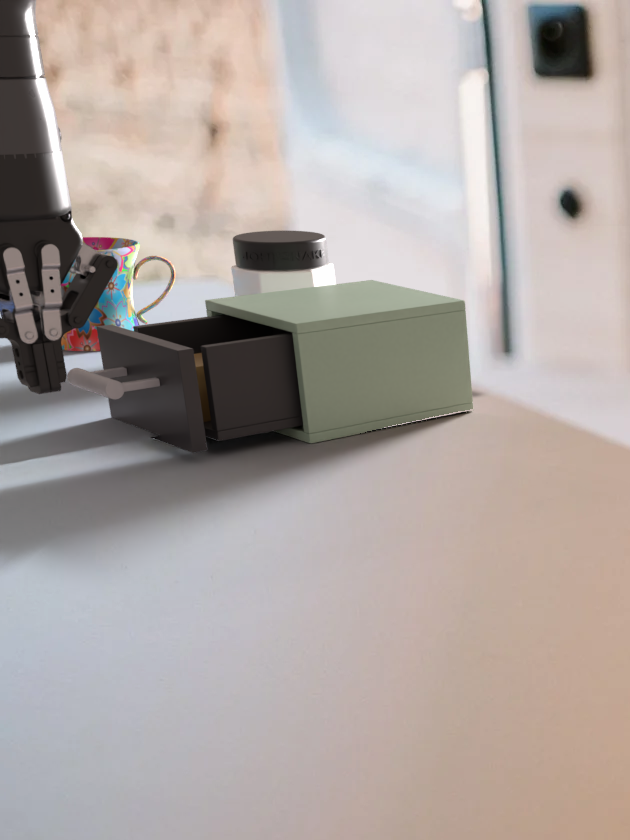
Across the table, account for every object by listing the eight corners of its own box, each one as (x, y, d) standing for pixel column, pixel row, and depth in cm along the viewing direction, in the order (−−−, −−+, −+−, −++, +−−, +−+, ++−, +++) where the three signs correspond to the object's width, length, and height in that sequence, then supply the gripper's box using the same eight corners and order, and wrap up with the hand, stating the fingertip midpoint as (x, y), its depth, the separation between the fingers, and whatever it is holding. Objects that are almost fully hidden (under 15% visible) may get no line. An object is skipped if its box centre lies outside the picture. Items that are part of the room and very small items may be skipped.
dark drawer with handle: (137, 463, 119) (120, 358, 116) (57, 433, 126) (40, 333, 123) (363, 420, 132) (353, 325, 130) (280, 394, 139) (268, 304, 136)
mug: (47, 369, 149) (26, 252, 145) (47, 350, 156) (28, 238, 152) (189, 361, 154) (173, 248, 150) (183, 342, 161) (168, 234, 158)
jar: (246, 375, 149) (228, 243, 145) (242, 357, 156) (225, 231, 152) (348, 370, 153) (334, 241, 148) (340, 352, 160) (326, 229, 155)
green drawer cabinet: (310, 443, 129) (296, 323, 125) (220, 413, 136) (204, 299, 133) (473, 411, 140) (465, 300, 137) (382, 385, 148) (372, 279, 144)
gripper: (72, 136, 119) (111, 369, 125) (-129, 145, 109) (-76, 397, 115) (122, 144, 114) (159, 385, 121) (-82, 154, 105) (-30, 415, 111)
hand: (44, 390), depth 118 cm, fingers closed
